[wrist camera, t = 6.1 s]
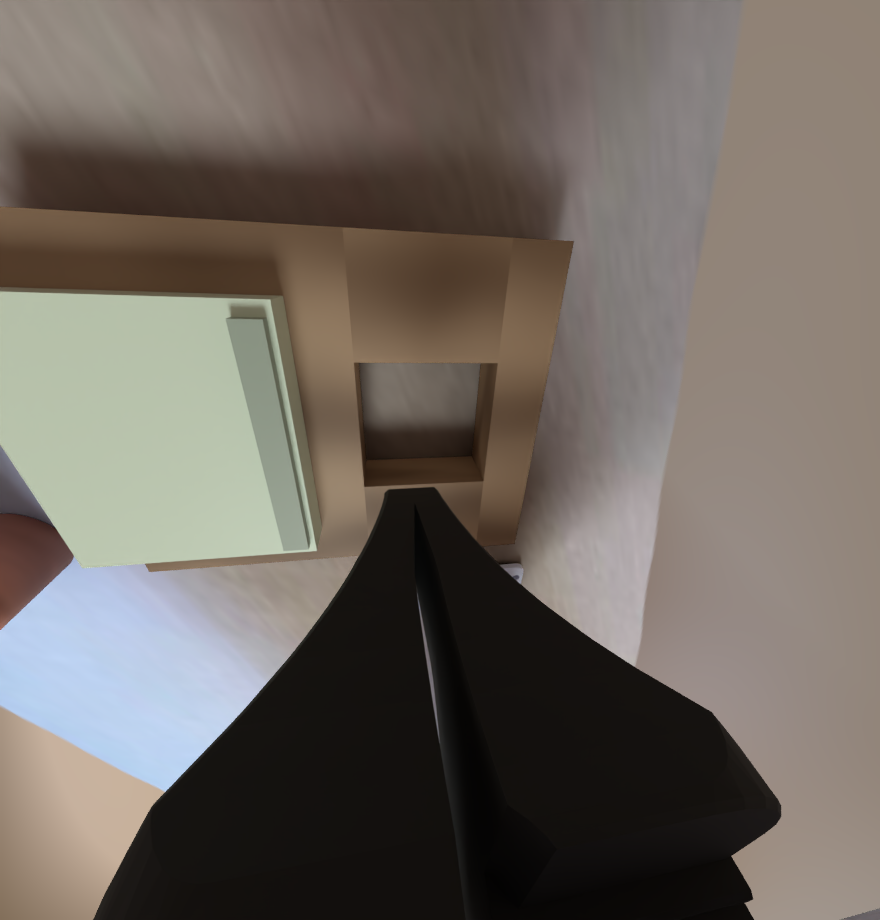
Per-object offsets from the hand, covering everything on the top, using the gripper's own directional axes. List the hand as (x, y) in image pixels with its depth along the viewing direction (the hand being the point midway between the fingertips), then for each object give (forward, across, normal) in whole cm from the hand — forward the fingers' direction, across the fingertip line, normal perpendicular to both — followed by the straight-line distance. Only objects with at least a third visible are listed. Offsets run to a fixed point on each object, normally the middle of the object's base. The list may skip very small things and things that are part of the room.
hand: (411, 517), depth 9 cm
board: (+8, +3, 0) cm, 9 cm away
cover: (+6, +8, 0) cm, 10 cm away
